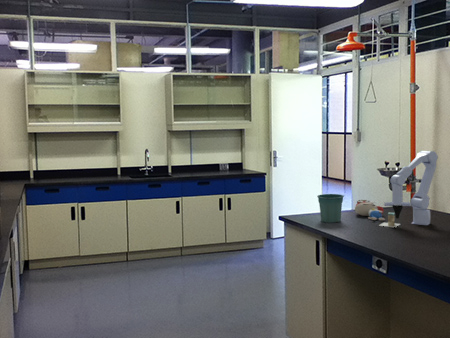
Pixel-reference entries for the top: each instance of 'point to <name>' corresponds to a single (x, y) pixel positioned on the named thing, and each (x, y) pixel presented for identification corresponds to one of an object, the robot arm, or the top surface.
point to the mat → (389, 226)
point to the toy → (369, 209)
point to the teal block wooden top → (391, 219)
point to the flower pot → (330, 207)
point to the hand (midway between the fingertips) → (397, 218)
